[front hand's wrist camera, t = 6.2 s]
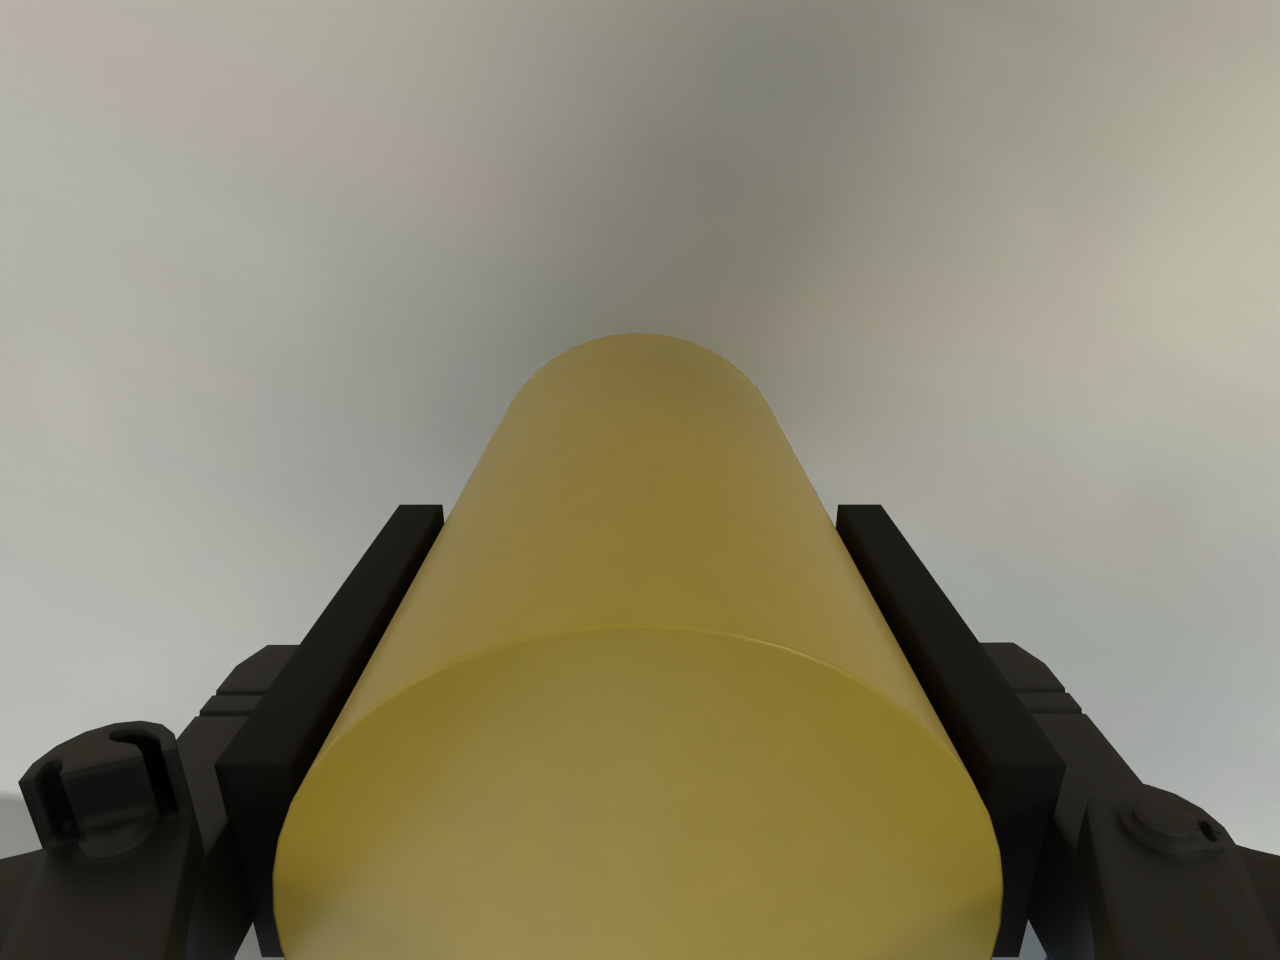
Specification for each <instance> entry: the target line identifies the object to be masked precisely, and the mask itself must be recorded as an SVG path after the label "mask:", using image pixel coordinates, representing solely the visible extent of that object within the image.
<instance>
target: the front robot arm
mask: <svg viewBox="0 0 1280 960" xmlns="http://www.w3.org/2000/svg"><path fill="white" fill-rule="evenodd" d="M443 526H444V516H443V506H442V505H399V506H398V508H397V509H396V511H395V512H394V513H393V515H392V516H391V518H390V519H389V520H388V522H387V523H386V525H385V526H384V527H383V529H382V530H381V532H380V533H379V534H378V536H377V537H376V539H375V540H374V541H373V543H372V544H371V546H370V547H369V548H368V550H367V551H366V553H365V554H364V555H363V557H362V558H361V560H360V561H359V562H358V564H357V565H356V567H355V568H354V569H353V571H352V572H351V574H350V575H349V576H348V578H347V579H346V581H345V582H344V583H343V585H342V586H341V588H340V589H339V590H338V592H337V593H336V595H335V596H334V597H333V599H332V600H331V602H330V603H329V604H328V606H327V607H326V609H325V610H324V611H323V613H322V614H321V616H320V617H319V618H318V620H317V621H316V623H315V624H314V625H313V627H312V628H311V630H310V631H309V632H308V634H307V635H306V637H305V638H304V639H303V641H302V642H301V644H300V645H267V646H266V647H264V648H263V649H261V650H260V651H258V652H257V653H255V654H254V655H252V656H251V657H249V658H248V659H246V660H245V661H243V662H242V663H240V664H239V665H237V666H236V667H235V668H234V670H233V671H232V672H231V673H230V674H229V676H228V677H227V678H226V679H225V681H224V682H223V683H222V684H221V686H220V687H219V688H218V689H217V691H216V696H212V697H211V698H210V699H209V700H208V702H207V703H206V704H205V705H204V707H203V708H202V709H201V710H200V715H199V717H195V718H194V719H193V720H192V721H191V723H190V724H189V725H188V726H187V727H186V729H185V730H184V731H183V732H182V734H181V735H180V736H179V737H178V739H177V740H176V739H175V735H174V733H172V732H171V731H170V730H169V729H167V728H166V727H165V726H164V725H162V724H157V723H152V722H146V721H133V722H123V723H114V724H111V725H107V726H104V727H101V728H97V729H94V730H90V731H87V732H84V733H82V734H80V735H78V736H76V737H74V738H72V739H70V740H68V741H66V742H64V743H62V744H59V745H57V746H56V747H54V748H53V749H52V750H50V751H49V752H48V753H46V754H45V755H44V756H42V757H41V758H40V759H38V760H37V761H36V762H34V763H33V764H32V765H31V767H30V768H29V769H28V770H27V772H26V773H25V774H24V775H23V777H22V778H21V779H20V781H19V782H18V783H19V786H20V788H21V791H22V794H23V797H24V799H25V802H26V805H27V807H28V810H29V813H30V816H31V818H32V821H33V824H34V826H35V829H36V832H37V834H38V837H39V840H40V843H41V845H42V849H40V850H37V851H33V852H30V853H25V854H21V855H17V856H12V857H8V858H4V859H0V960H235V956H236V954H237V952H238V950H239V948H240V946H241V944H242V942H243V940H244V938H245V936H246V934H247V932H248V930H249V928H250V926H251V924H252V922H253V923H254V927H255V931H256V935H257V939H258V943H259V947H260V951H261V955H262V957H284V955H283V953H282V950H281V948H280V943H279V938H278V934H277V929H276V924H275V919H274V914H273V879H272V876H273V868H274V862H275V856H276V850H277V843H278V838H279V835H280V832H281V829H282V827H283V824H284V821H285V818H286V815H287V813H288V810H289V807H290V804H291V802H292V800H293V798H294V796H295V795H296V793H297V791H298V789H299V787H300V786H301V784H302V782H303V780H304V778H305V776H306V775H307V773H308V771H309V769H310V767H311V766H312V764H313V762H314V760H315V758H316V756H317V755H318V753H319V751H320V749H321V747H322V746H323V744H324V742H325V740H326V738H327V736H328V735H329V733H330V731H331V729H332V727H333V726H334V724H335V722H336V720H337V718H338V717H339V715H340V713H341V711H342V709H343V707H344V706H345V704H346V702H347V700H348V698H349V697H350V695H351V693H352V691H353V689H354V687H355V686H356V684H357V682H358V680H359V678H360V677H361V675H362V673H363V671H364V669H365V667H366V666H367V664H368V662H369V660H370V658H371V657H372V655H373V653H374V651H375V649H376V647H377V646H378V644H379V642H380V640H381V638H382V637H383V635H384V633H385V631H386V629H387V627H388V626H389V624H390V622H391V620H392V618H393V617H394V615H395V613H396V611H397V609H398V607H399V606H400V604H401V602H402V600H403V598H404V597H405V595H406V593H407V591H408V589H409V587H410V586H411V584H412V582H413V580H414V578H415V577H416V575H417V573H418V571H419V569H420V568H421V566H422V564H423V562H424V560H425V558H426V557H427V555H428V553H429V551H430V549H431V548H432V546H433V544H434V542H435V540H436V538H437V537H438V535H439V533H440V531H441V529H442V528H443ZM836 530H837V532H838V534H839V536H840V538H841V540H842V541H843V543H844V545H845V547H846V549H847V551H848V552H849V554H850V556H851V558H852V560H853V562H854V563H855V565H856V567H857V569H858V571H859V573H860V574H861V576H862V578H863V580H864V582H865V584H866V586H867V587H868V589H869V591H870V593H871V595H872V597H873V598H874V600H875V602H876V604H877V606H878V608H879V609H880V611H881V613H882V615H883V617H884V619H885V621H886V622H887V624H888V626H889V628H890V630H891V632H892V633H893V635H894V637H895V639H896V641H897V643H898V644H899V646H900V648H901V650H902V652H903V654H904V655H905V657H906V659H907V661H908V663H909V665H910V667H911V668H912V670H913V672H914V674H915V676H916V678H917V679H918V681H919V683H920V685H921V687H922V689H923V690H924V692H925V694H926V696H927V698H928V700H929V702H930V703H931V705H932V707H933V709H934V711H935V713H936V714H937V716H938V718H939V720H940V722H941V724H942V725H943V727H944V729H945V731H946V733H947V735H948V736H949V738H950V740H951V742H952V744H953V746H954V748H955V749H956V751H957V753H958V755H959V757H960V759H961V760H962V762H963V764H964V766H965V768H966V770H967V771H968V773H969V775H970V777H971V779H972V781H973V783H974V785H975V787H976V789H977V791H978V793H979V795H980V797H981V799H982V801H983V803H984V805H985V807H986V809H987V811H988V813H989V815H990V818H991V822H992V825H993V829H994V832H995V836H996V839H997V842H998V846H999V849H1000V856H1001V867H1002V877H1003V887H1004V890H1003V902H1002V914H1001V925H1000V929H999V933H998V937H997V940H996V944H995V948H994V952H993V956H992V957H1019V953H1020V949H1021V945H1022V941H1023V937H1024V933H1025V929H1026V925H1027V921H1028V919H1029V921H1030V923H1031V925H1032V927H1033V929H1034V931H1035V933H1036V935H1037V937H1038V939H1039V941H1040V943H1041V945H1042V947H1043V949H1044V950H1045V952H1046V954H1047V955H1046V958H1045V960H1280V856H1278V855H1274V854H1270V853H1265V852H1261V851H1257V850H1252V849H1249V848H1245V847H1242V846H1239V845H1236V844H1235V843H1234V841H1233V840H1232V838H1231V837H1230V835H1229V834H1228V832H1227V831H1226V829H1225V828H1224V827H1223V826H1222V825H1221V824H1220V823H1218V822H1217V821H1216V820H1215V819H1214V818H1212V817H1211V816H1210V815H1209V814H1208V813H1207V812H1205V811H1204V810H1203V809H1202V808H1200V807H1198V806H1196V805H1194V804H1193V803H1191V802H1189V801H1187V800H1185V799H1183V798H1182V797H1180V796H1178V795H1176V794H1174V793H1171V792H1168V791H1165V790H1162V789H1159V788H1156V787H1153V786H1150V785H1146V784H1143V783H1142V782H1141V781H1140V780H1139V778H1138V777H1137V776H1136V775H1135V773H1134V772H1133V771H1132V770H1131V769H1130V767H1129V766H1128V765H1127V764H1126V762H1125V761H1124V760H1123V759H1122V757H1121V756H1120V755H1119V754H1118V753H1117V751H1116V750H1115V749H1114V748H1113V746H1112V745H1111V744H1110V743H1109V742H1108V740H1107V739H1106V738H1105V737H1104V735H1103V734H1102V733H1101V732H1100V731H1099V729H1098V728H1097V727H1096V726H1095V724H1094V723H1093V722H1092V721H1091V720H1090V718H1089V717H1088V716H1087V715H1086V714H1082V711H1081V710H1082V709H1081V707H1080V706H1079V705H1078V704H1077V702H1076V701H1075V700H1074V699H1073V697H1072V696H1071V695H1070V694H1069V693H1065V688H1064V686H1063V685H1062V684H1061V683H1060V682H1059V680H1058V679H1057V678H1056V677H1055V675H1054V674H1053V673H1052V672H1051V671H1050V669H1049V668H1048V667H1047V666H1046V664H1045V663H1043V662H1042V661H1040V660H1039V659H1037V658H1036V657H1034V656H1033V655H1031V654H1030V653H1028V652H1027V651H1025V650H1024V649H1022V648H1021V647H1019V646H1018V645H1016V644H1015V643H979V641H978V640H977V639H976V637H975V636H974V634H973V633H972V632H971V630H970V629H969V627H968V626H967V625H966V623H965V622H964V620H963V619H962V618H961V616H960V615H959V613H958V612H957V611H956V609H955V608H954V606H953V605H952V604H951V602H950V601H949V599H948V598H947V597H946V595H945V594H944V592H943V591H942V590H941V588H940V587H939V585H938V584H937V583H936V581H935V580H934V578H933V577H932V576H931V574H930V573H929V571H928V570H927V569H926V567H925V566H924V564H923V563H922V562H921V560H920V559H919V557H918V556H917V555H916V553H915V552H914V550H913V549H912V548H911V546H910V545H909V543H908V542H907V541H906V539H905V538H904V536H903V535H902V534H901V532H900V531H899V529H898V528H897V527H896V525H895V524H894V523H893V521H892V520H891V518H890V517H889V516H888V514H887V513H886V511H885V510H884V509H883V507H882V506H881V505H838V511H837V521H836Z"/></svg>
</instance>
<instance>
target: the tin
mask: <svg viewBox="0 0 1280 960" xmlns="http://www.w3.org/2000/svg"><path fill="white" fill-rule="evenodd" d="M272 879H273V914H274V919H275V924H276V929H277V934H278V938H279V943H280V948H281V950H282V953H283V955H284V958H285V960H991V959H992V956H993V952H994V948H995V944H996V940H997V937H998V933H999V929H1000V925H1001V914H1002V902H1003V890H1004V887H1003V877H1002V867H1001V856H1000V849H999V846H998V842H997V839H996V836H995V832H994V829H993V825H992V822H991V818H990V815H989V813H988V811H987V809H986V807H985V805H984V803H983V801H982V799H981V797H980V795H979V793H978V791H977V789H976V787H975V785H974V783H973V781H972V779H971V777H970V775H969V773H968V771H967V770H966V768H965V766H964V764H963V762H962V760H961V759H960V757H959V755H958V753H957V751H956V749H955V748H954V746H953V744H952V742H951V740H950V738H949V736H948V735H947V733H946V731H945V729H944V727H943V725H942V724H941V722H940V720H939V718H938V716H937V714H936V713H935V711H934V709H933V707H932V705H931V703H930V702H929V700H928V698H927V696H926V694H925V692H924V690H923V689H922V687H921V685H920V683H919V681H918V679H917V678H916V676H915V674H914V672H913V670H912V668H911V667H910V665H909V663H908V661H907V659H906V657H905V655H904V654H903V652H902V650H901V648H900V646H899V644H898V643H897V641H896V639H895V637H894V635H893V633H892V632H891V630H890V628H889V626H888V624H887V622H886V621H885V619H884V617H883V615H882V613H881V611H880V609H879V608H878V606H877V604H876V602H875V600H874V598H873V597H872V595H871V593H870V591H869V589H868V587H867V586H866V584H865V582H864V580H863V578H862V576H861V574H860V573H859V571H858V569H857V567H856V565H855V563H854V562H853V560H852V558H851V556H850V554H849V552H848V551H847V549H846V547H845V545H844V543H843V541H842V540H841V538H840V536H839V534H838V532H837V530H836V528H835V527H834V525H833V523H832V521H831V519H830V517H829V516H828V514H827V512H826V510H825V508H824V506H823V505H822V503H821V501H820V499H819V497H818V495H817V493H816V492H815V490H814V488H813V486H812V484H811V482H810V481H809V479H808V477H807V475H806V473H805V471H804V470H803V468H802V466H801V464H800V462H799V460H798V458H797V457H796V455H795V453H794V451H793V449H792V447H791V446H790V444H789V442H788V440H787V438H786V436H785V435H784V433H783V431H782V429H781V427H780V425H779V424H778V422H777V420H776V418H775V416H774V414H773V412H772V411H771V409H770V407H769V405H768V403H767V402H766V400H765V399H764V398H763V396H762V395H761V393H760V392H759V390H758V389H757V388H756V387H755V386H754V384H753V383H752V382H751V381H750V380H749V379H748V378H747V377H746V376H745V375H744V374H743V373H742V372H741V371H740V370H738V369H737V368H736V367H735V366H733V365H732V364H731V363H730V362H729V361H727V360H725V359H724V358H722V357H721V356H719V355H717V354H716V353H714V352H712V351H710V350H708V349H706V348H704V347H701V346H699V345H697V344H695V343H692V342H689V341H685V340H682V339H679V338H675V337H670V336H664V335H657V334H639V333H631V334H622V335H613V336H608V337H604V338H600V339H596V340H592V341H589V342H587V343H584V344H582V345H579V346H576V347H574V348H572V349H570V350H568V351H566V352H565V353H563V354H561V355H559V356H557V357H555V358H554V359H553V360H551V361H550V362H549V363H547V364H546V365H545V366H543V367H542V368H541V369H539V370H538V371H537V372H536V373H535V374H534V375H533V376H532V377H531V378H530V379H529V380H528V381H527V382H526V383H525V384H524V386H523V387H522V388H521V390H520V391H519V392H518V394H517V395H516V396H515V397H514V399H513V401H512V403H511V404H510V406H509V408H508V410H507V411H506V413H505V415H504V417H503V419H502V420H501V422H500V424H499V426H498V428H497V429H496V431H495V433H494V435H493V437H492V439H491V440H490V442H489V444H488V446H487V448H486V449H485V451H484V453H483V455H482V457H481V458H480V460H479V462H478V464H477V466H476V468H475V469H474V471H473V473H472V475H471V477H470V478H469V480H468V482H467V484H466V486H465V488H464V489H463V491H462V493H461V495H460V497H459V498H458V500H457V502H456V504H455V506H454V508H453V509H452V511H451V513H450V515H449V517H448V518H447V520H446V522H445V524H444V526H443V528H442V529H441V531H440V533H439V535H438V537H437V538H436V540H435V542H434V544H433V546H432V548H431V549H430V551H429V553H428V555H427V557H426V558H425V560H424V562H423V564H422V566H421V568H420V569H419V571H418V573H417V575H416V577H415V578H414V580H413V582H412V584H411V586H410V587H409V589H408V591H407V593H406V595H405V597H404V598H403V600H402V602H401V604H400V606H399V607H398V609H397V611H396V613H395V615H394V617H393V618H392V620H391V622H390V624H389V626H388V627H387V629H386V631H385V633H384V635H383V637H382V638H381V640H380V642H379V644H378V646H377V647H376V649H375V651H374V653H373V655H372V657H371V658H370V660H369V662H368V664H367V666H366V667H365V669H364V671H363V673H362V675H361V677H360V678H359V680H358V682H357V684H356V686H355V687H354V689H353V691H352V693H351V695H350V697H349V698H348V700H347V702H346V704H345V706H344V707H343V709H342V711H341V713H340V715H339V717H338V718H337V720H336V722H335V724H334V726H333V727H332V729H331V731H330V733H329V735H328V736H327V738H326V740H325V742H324V744H323V746H322V747H321V749H320V751H319V753H318V755H317V756H316V758H315V760H314V762H313V764H312V766H311V767H310V769H309V771H308V773H307V775H306V776H305V778H304V780H303V782H302V784H301V786H300V787H299V789H298V791H297V793H296V795H295V796H294V798H293V800H292V802H291V804H290V807H289V810H288V813H287V815H286V818H285V821H284V824H283V827H282V829H281V832H280V835H279V838H278V843H277V850H276V856H275V862H274V868H273V876H272Z"/></svg>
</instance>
